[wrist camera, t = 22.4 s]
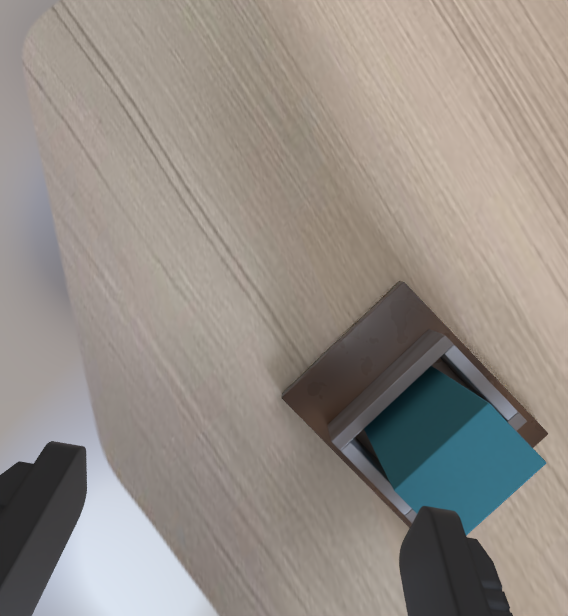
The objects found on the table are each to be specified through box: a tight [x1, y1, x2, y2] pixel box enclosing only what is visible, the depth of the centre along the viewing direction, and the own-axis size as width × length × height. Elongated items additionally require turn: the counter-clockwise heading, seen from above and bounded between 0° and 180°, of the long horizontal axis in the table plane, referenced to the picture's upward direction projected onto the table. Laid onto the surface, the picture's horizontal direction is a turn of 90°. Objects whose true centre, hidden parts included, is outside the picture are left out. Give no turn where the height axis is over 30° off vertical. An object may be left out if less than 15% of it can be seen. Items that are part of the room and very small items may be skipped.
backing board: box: [282, 282, 548, 528], centre depth 29 cm, size 14×11×4 cm
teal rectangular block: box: [364, 366, 546, 535], centre depth 26 cm, size 4×6×9 cm, turn 134°
